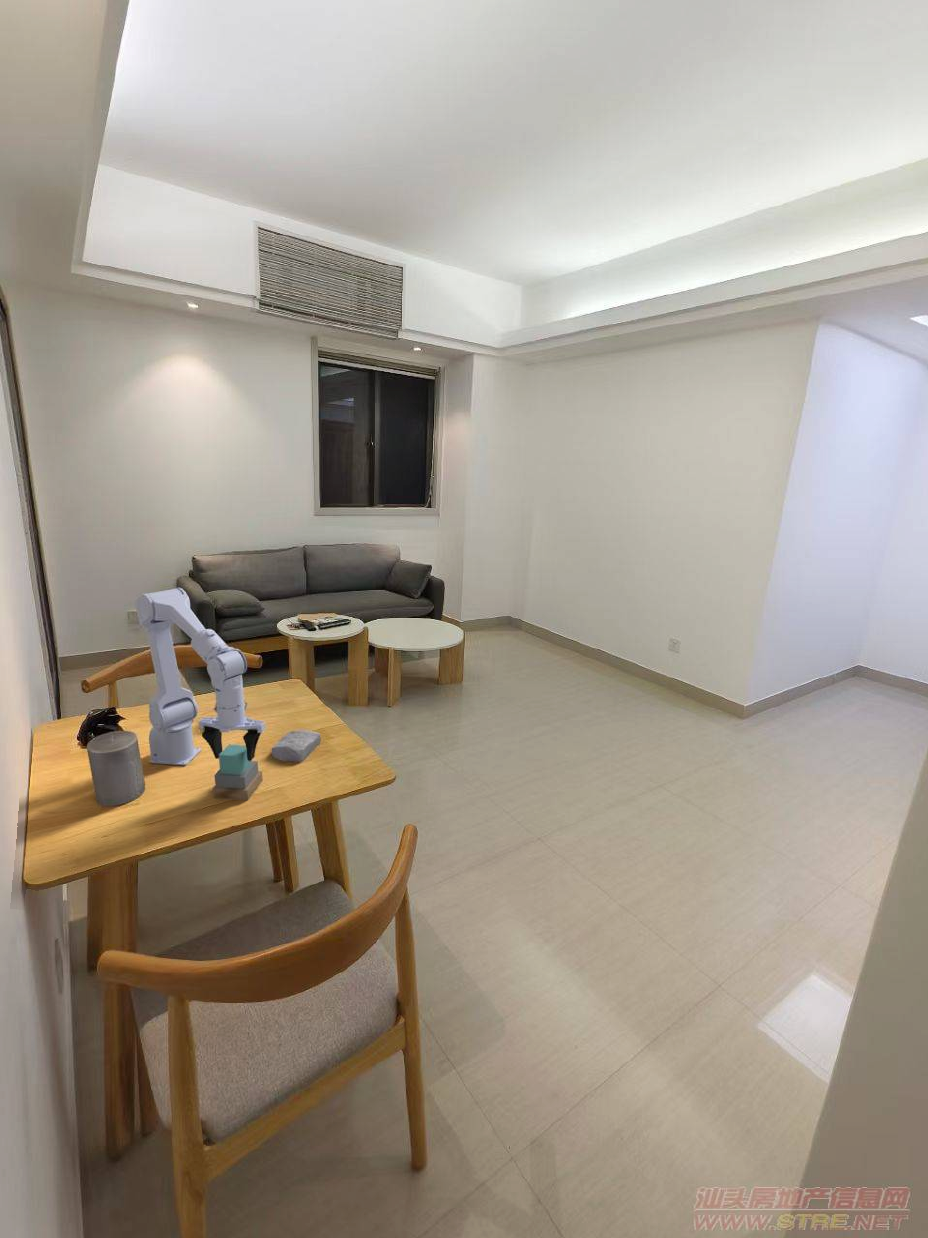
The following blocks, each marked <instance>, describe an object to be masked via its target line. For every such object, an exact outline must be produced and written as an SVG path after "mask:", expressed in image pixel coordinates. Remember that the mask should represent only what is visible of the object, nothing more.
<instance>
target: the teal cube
mask: <svg viewBox="0 0 928 1238" xmlns="http://www.w3.org/2000/svg"><path fill="white" fill-rule="evenodd" d="M218 761H219V770H220V774H231V775H241V774H242V773H243V772H244V771H245V770H246V769H247V768H248V766H249V765H250V761H248V759H247V749H246V745H241V744H231V743H230V744H228V745H227V746H226V747H225V748H224V749H222V752H221V753H220V754H219V758H218Z"/></svg>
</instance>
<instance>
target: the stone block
mask: <svg viewBox="0 0 928 1238" xmlns="http://www.w3.org/2000/svg"><path fill="white" fill-rule="evenodd" d="M321 739H322V737H321V733H320V732H315V731H313V730H312V731H311V730H308V729H298V730H297V729H295V730H291V731H289V732H287V733H286V734H285V735H283V736H282V737H281V738H280V739H279V740H278V741H277V742H276V743H275V744H274V745H273V746H272V747H271V754H272V757H273V758H274V759H275V760H278V761H287V762H288V761H290V762H297V763H302V762H304V761H305V760H306V758H308V757H309V756H310V755H311V753H312V752H314V750H315V749H316V748H317V747H318V746H319V745H320V743H321V741H322V740H321ZM317 745H318V746H317Z"/></svg>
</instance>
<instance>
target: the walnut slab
mask: <svg viewBox="0 0 928 1238" xmlns="http://www.w3.org/2000/svg"><path fill="white" fill-rule="evenodd" d="M263 779H264V778H263V771H259V770H258V773H257V775H256V776H255V777H254V779H253V780H252V781H251V782H250V784H249V785H248V786H247V788H246V789H239V788H225V787H215V785H214V786H213V788H212V790H213V791H212V793H213V799H226V800H235V801H236V800H238V801H249V800H250V799H251V797H252V796H253V795H254V793H255V792H256V790H257V789H258V788H259V787H260V785H262V784H261V783H263Z"/></svg>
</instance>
